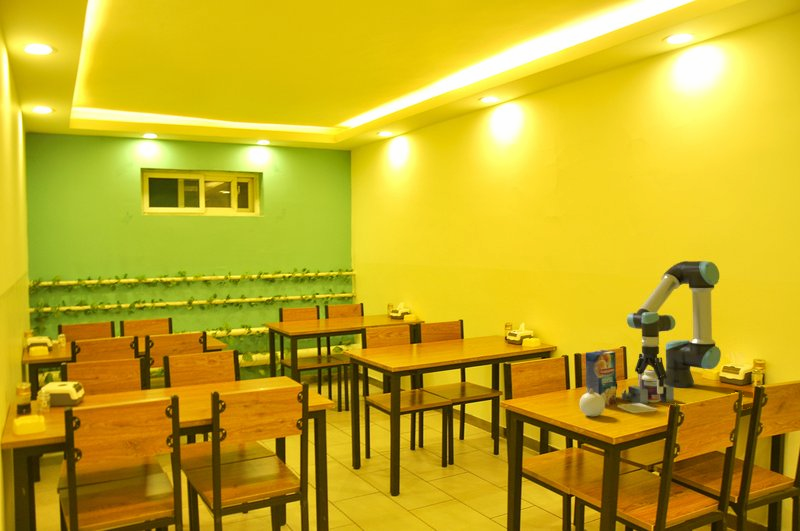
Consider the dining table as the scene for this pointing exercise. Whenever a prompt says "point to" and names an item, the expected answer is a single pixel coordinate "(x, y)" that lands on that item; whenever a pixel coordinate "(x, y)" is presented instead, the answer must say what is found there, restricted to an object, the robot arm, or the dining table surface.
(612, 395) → the cereal box
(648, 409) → the trivet
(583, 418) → the dining table surface
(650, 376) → the pill bottle
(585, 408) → the ornament
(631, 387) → the vise
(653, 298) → the robot arm
